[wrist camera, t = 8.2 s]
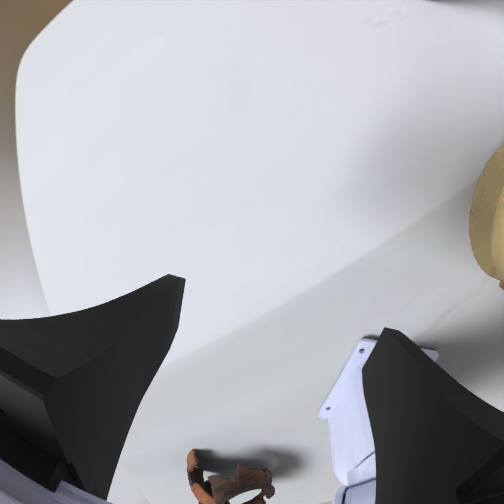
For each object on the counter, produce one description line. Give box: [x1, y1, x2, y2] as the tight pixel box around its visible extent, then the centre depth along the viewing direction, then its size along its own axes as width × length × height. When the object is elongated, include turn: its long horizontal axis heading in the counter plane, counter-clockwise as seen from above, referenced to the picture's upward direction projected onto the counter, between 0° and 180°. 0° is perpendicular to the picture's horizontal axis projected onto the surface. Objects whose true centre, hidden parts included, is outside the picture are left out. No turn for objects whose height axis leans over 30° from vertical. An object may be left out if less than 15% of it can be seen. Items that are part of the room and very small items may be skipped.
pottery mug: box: [187, 449, 275, 504], centre depth 29 cm, size 12×10×8 cm
